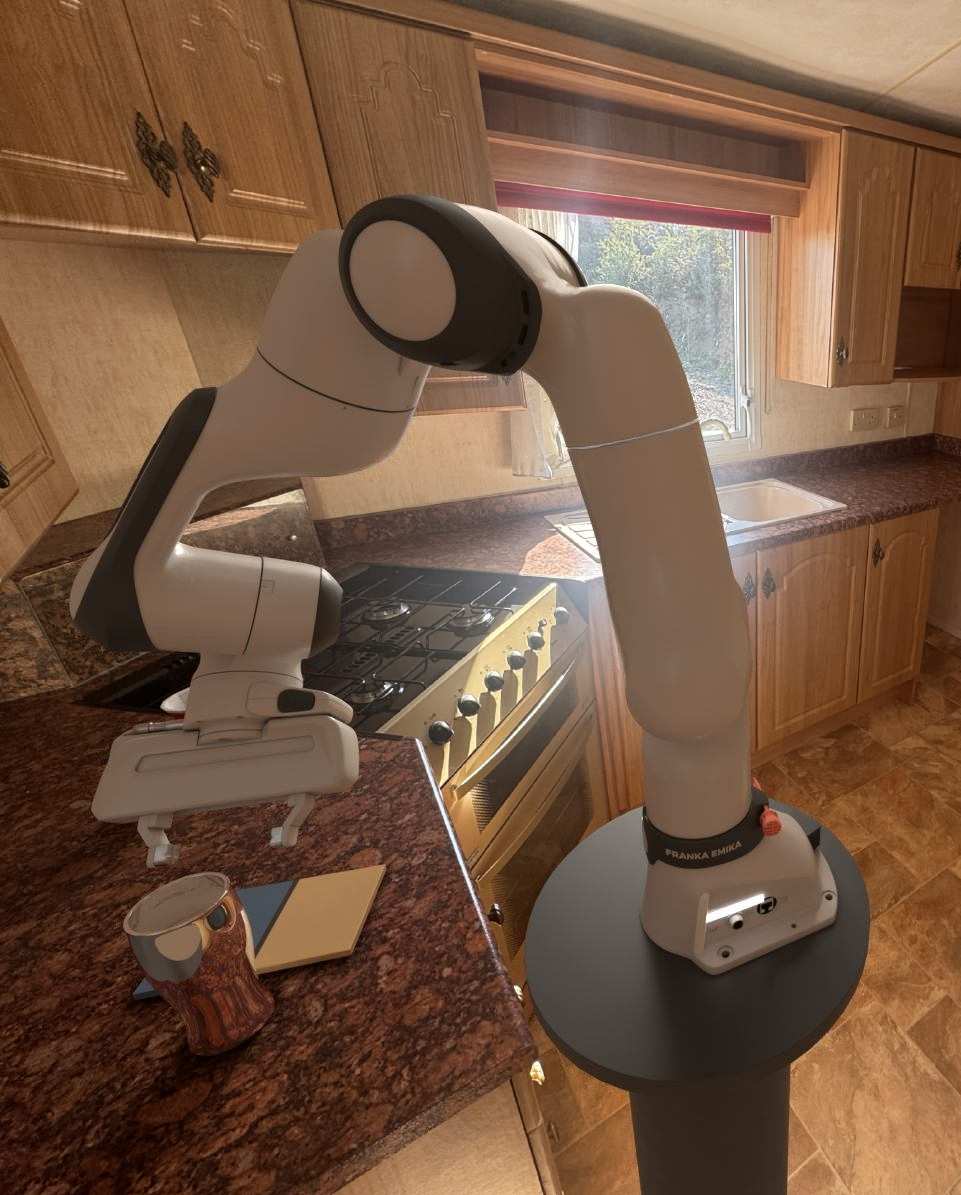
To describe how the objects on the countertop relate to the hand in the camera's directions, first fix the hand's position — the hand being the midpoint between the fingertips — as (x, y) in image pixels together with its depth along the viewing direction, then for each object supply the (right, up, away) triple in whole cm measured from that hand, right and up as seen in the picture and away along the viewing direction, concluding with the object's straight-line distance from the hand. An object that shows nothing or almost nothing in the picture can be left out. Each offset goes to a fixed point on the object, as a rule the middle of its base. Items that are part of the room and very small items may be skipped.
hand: (223, 856), depth 58 cm
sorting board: (-3, -11, +9) cm, 15 cm away
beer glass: (+2, -15, -1) cm, 15 cm away
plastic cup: (-31, 0, +36) cm, 47 cm away
